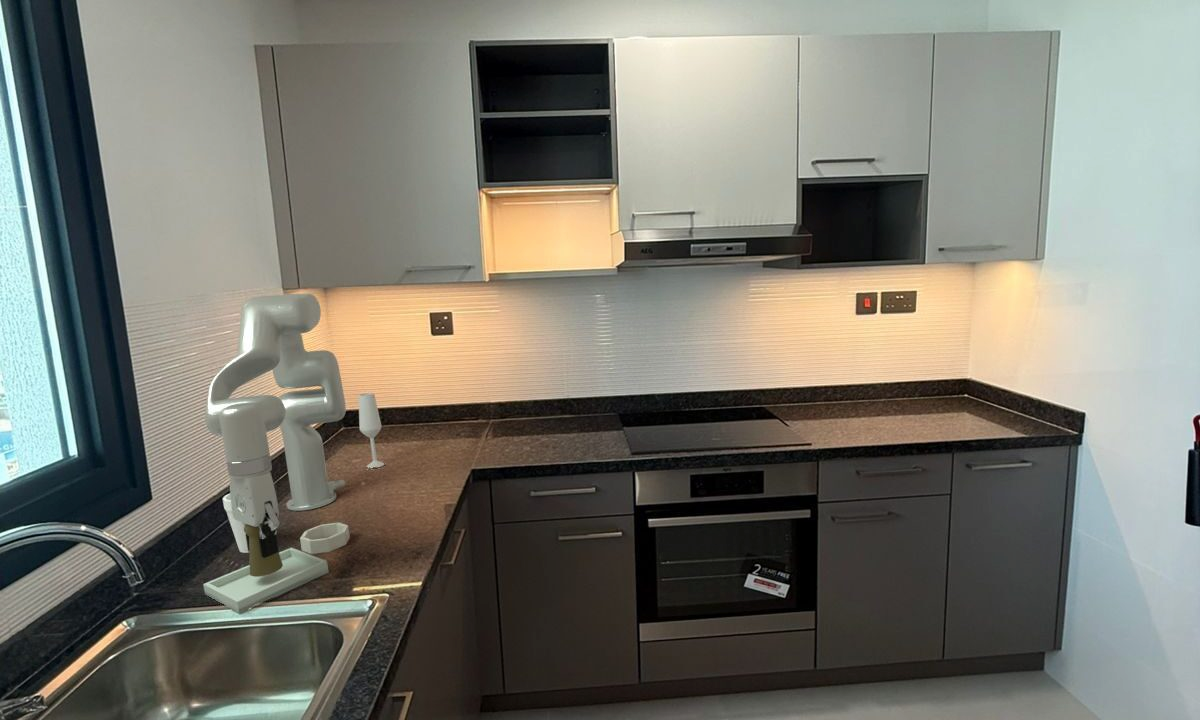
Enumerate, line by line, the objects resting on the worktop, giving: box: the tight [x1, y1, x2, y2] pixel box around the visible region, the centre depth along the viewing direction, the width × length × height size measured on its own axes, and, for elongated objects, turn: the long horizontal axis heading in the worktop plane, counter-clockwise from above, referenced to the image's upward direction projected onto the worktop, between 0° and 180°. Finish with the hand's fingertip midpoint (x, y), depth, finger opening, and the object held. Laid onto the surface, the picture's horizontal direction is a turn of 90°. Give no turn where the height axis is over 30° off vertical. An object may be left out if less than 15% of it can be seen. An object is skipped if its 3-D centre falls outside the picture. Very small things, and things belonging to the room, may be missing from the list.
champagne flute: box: [358, 392, 385, 468], centre depth 202 cm, size 7×7×24 cm
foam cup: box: [222, 493, 249, 554], centre depth 145 cm, size 10×9×13 cm
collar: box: [299, 522, 351, 555], centre depth 145 cm, size 10×10×3 cm
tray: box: [203, 547, 329, 615], centre depth 127 cm, size 18×14×2 cm
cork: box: [245, 518, 283, 577], centre depth 126 cm, size 6×6×11 cm
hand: (263, 551), depth 126 cm, fingers closed on cork, 4 cm apart
